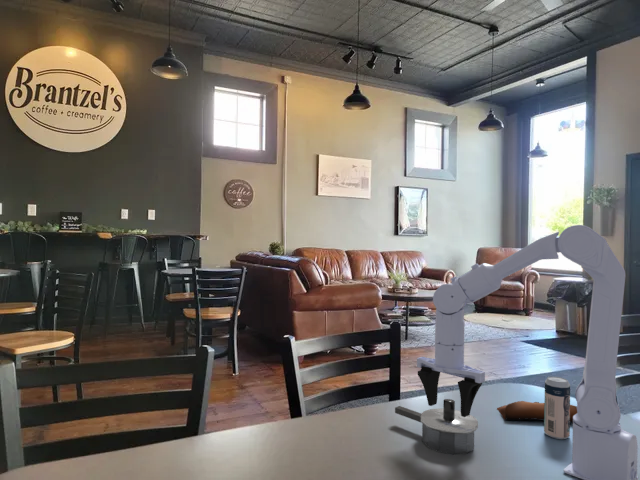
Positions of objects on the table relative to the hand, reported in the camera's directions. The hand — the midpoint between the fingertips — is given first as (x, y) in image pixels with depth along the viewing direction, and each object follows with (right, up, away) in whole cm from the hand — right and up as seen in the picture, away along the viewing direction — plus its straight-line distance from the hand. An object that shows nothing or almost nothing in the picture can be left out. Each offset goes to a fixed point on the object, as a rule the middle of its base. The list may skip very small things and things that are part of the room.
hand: (448, 409), depth 92 cm
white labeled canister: (+24, -7, +4) cm, 26 cm away
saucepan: (-3, -7, +3) cm, 8 cm away
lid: (0, -3, 0) cm, 3 cm away
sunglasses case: (+26, -8, +15) cm, 31 cm away
